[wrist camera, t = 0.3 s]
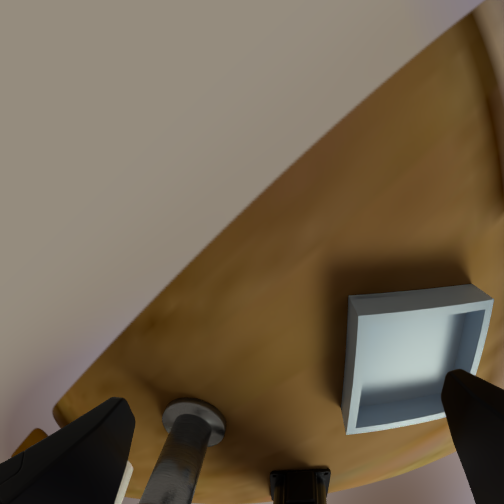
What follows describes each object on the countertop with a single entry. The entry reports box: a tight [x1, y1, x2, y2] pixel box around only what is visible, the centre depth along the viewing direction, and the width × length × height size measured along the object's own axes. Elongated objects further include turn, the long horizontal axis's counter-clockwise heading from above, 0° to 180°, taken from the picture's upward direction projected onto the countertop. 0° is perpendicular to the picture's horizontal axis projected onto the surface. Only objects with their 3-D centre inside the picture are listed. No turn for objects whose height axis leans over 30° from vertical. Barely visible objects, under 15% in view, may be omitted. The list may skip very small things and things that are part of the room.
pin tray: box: [341, 284, 494, 435], centre depth 21 cm, size 11×11×4 cm
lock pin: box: [139, 398, 226, 504], centre depth 21 cm, size 6×6×12 cm
